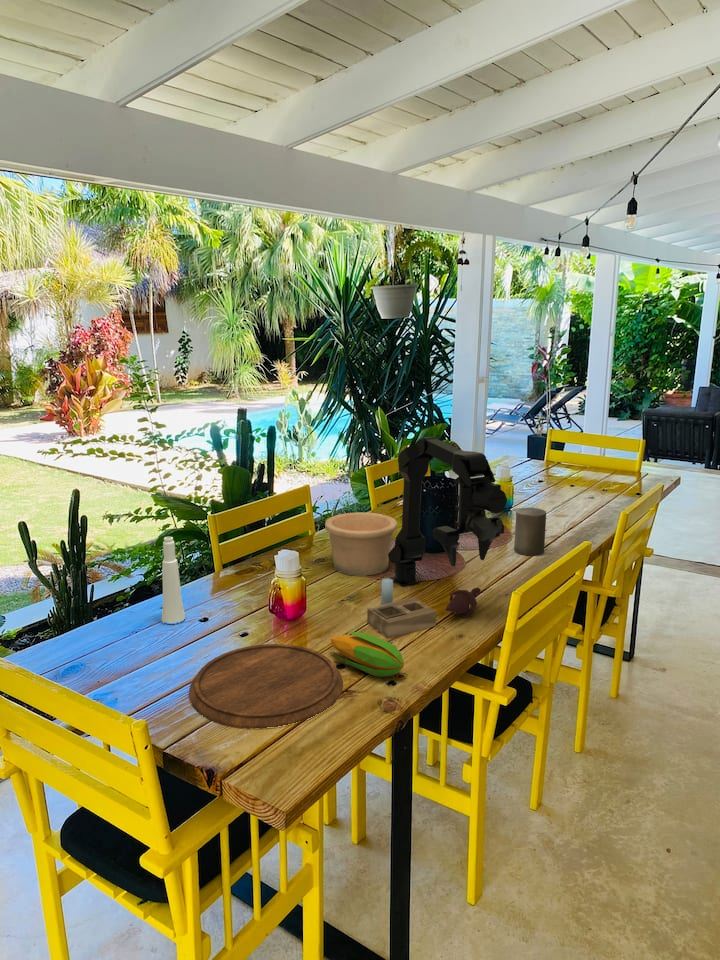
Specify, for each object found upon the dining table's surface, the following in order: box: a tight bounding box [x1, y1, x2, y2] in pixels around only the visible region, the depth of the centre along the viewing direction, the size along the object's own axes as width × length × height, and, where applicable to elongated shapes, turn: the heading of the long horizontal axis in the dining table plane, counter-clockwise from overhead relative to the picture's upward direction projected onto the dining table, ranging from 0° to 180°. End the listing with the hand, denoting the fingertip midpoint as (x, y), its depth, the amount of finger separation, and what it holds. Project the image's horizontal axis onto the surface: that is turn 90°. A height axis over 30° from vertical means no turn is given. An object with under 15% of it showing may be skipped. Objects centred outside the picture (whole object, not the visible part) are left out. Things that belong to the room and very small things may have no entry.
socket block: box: [366, 597, 437, 639], centre depth 179 cm, size 10×14×4 cm
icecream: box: [445, 587, 482, 618], centre depth 184 cm, size 7×7×15 cm
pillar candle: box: [513, 507, 547, 557], centre depth 232 cm, size 10×10×15 cm
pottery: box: [324, 511, 398, 577], centre depth 218 cm, size 22×22×14 cm
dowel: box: [380, 577, 394, 605], centre depth 188 cm, size 3×3×8 cm
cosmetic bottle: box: [161, 536, 186, 623], centre depth 179 cm, size 6×6×22 cm
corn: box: [330, 631, 405, 678], centre depth 157 cm, size 7×8×20 cm
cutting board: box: [188, 643, 344, 729], centre depth 150 cm, size 32×32×2 cm
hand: (467, 562), depth 180 cm, fingers open, 9 cm apart
